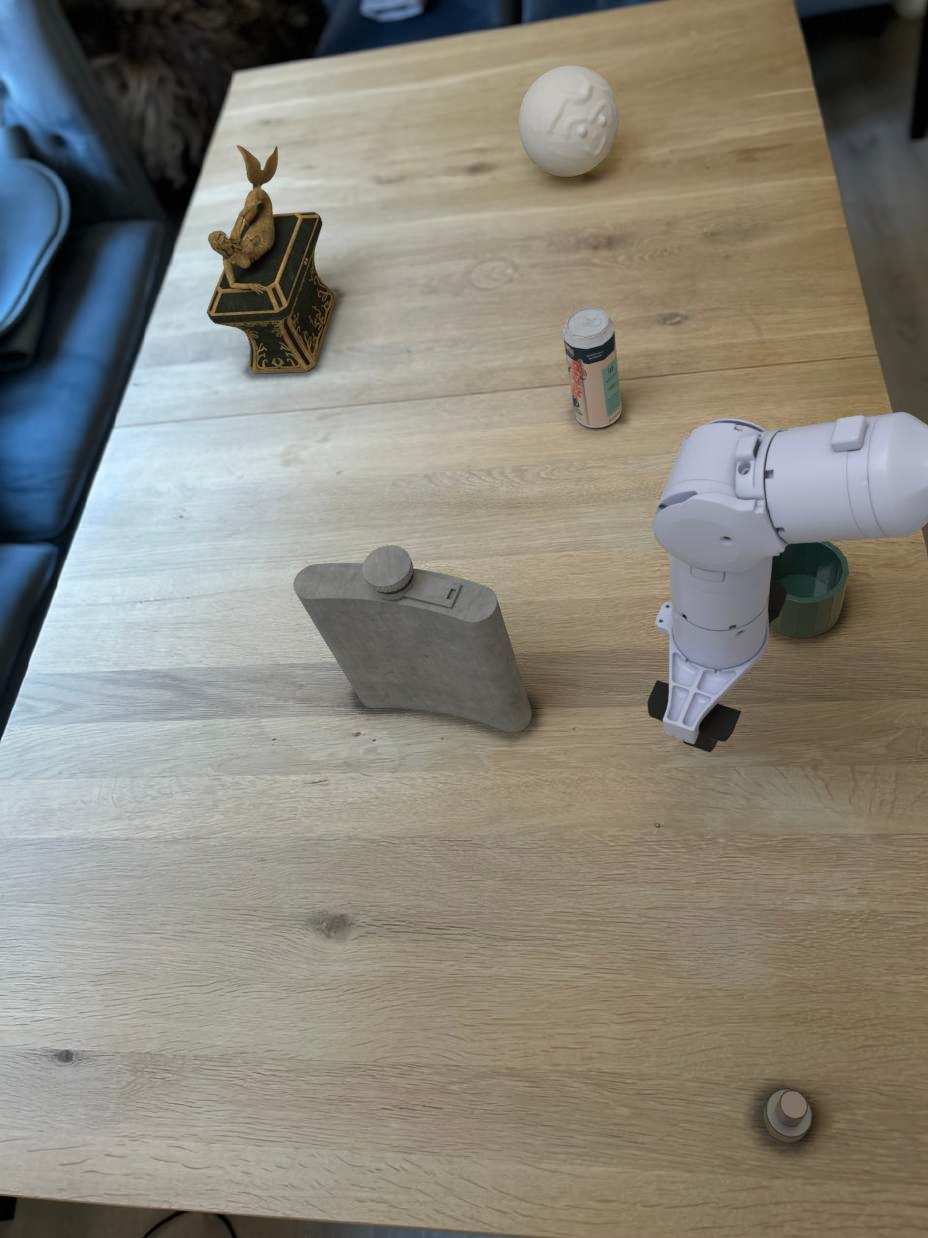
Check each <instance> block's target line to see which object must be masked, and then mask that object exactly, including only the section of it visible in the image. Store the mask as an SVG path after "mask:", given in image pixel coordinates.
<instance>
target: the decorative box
mask: <svg viewBox="0 0 928 1238" xmlns="http://www.w3.org/2000/svg"><path fill="white" fill-rule="evenodd" d="M236 148H237V150H238V151H239V152H240V154H241V156H242V158H243V161H244V165H245V171H246V177H247V180H248V182H249V183H250V184H252V189H251V190H250V191H249V192H248V193H247V195H246V198H245V202H244V207H243V208H242V209H241V211H239V212H238V216H237V218H236V220H235V222H234V225H233V228H232V229H231V231H230V234H229V236H228V235H227V233H225V232H224V231H222V230H216V231H215V230H214V231H212V232H210V233H209V234H208V237H207V241H208V243H209V245H210V247H211V249H212V250H213V251H214V252H216V253H217V254H219V255H220V256H222V266H223V269H222V272H221V273H220V276H219V278H218V281H217V283H216V286H215V288H214V291H213V294H212V296H211V299H210V300H209V304H208V307H207V309H206V314H207V316H208V318H209V319H210V320H211V322H212V323H214V324H215V325H219V326H225V327H231V328H235V329H238V330H241V331H242V332H243V333H244V334H245V336H246V337H247V340H248V342H249V344H248V345H249V365H248V366H249V370H251V371H252V372H253V373H254V374H271V373H272V374H274V373H275V374H277V373H302V372H308V371H310V370H311V369H313V368H314V367H316V366H317V365H316V364H317V362H318V359H319V355H320V352H321V350H322V347H323V343H324V340H325V337H326V334H327V331H328V327H329V325H330V321H331V318H332V315H333V312H334V310H335V307H336V303H337V300H338V293H336V292H335V291H334V290H333V289H332V288H331V287H329V286H328V285H327V284H326V283H324V281H323V280H322V279H321V277H320V275H319V273H318V271H317V269H316V263H315V254H316V253H315V252H316V247H317V243H318V240H319V237H320V234H321V232H322V228H323V220H322V217H321V215H320V214H318V213H317V212H315V211H303V212H302V211H300V212H299V211H298V212H287V213H286V212H285V213H274V211H273V202H272V199H271V198H270V195H269V194H268V192H267V191H266V190H265V189H263V188H262V186H263V185H264V184H265V185H266V184H268V183H269V182H271V180H272V179H273V178H274V176H275V175H276V173H277V169H278V164H279V148H278V146H277V145H275V147H274V150H273V152H272V153H271V154H270V155H269V156H268V158H267V159H266V160H265V163H264V167H263V169H262V165H261V162H260V160H259V159H258V158H257V157H256V156H255V155H254V154H252V153H251V152H250V151H249V150H247V149H246V148H244V147H243V146H242V145H239V144H237V145H236Z"/></svg>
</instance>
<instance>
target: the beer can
mask: <svg viewBox="0 0 928 1238" xmlns="http://www.w3.org/2000/svg"><path fill="white" fill-rule="evenodd" d="M566 319H567V320H566V322H565V324H564V326H563V329H562V337H563V344H564V351H565V358H566V364H567V365H566V366H567V371H568V378H569V385H570V391H571V397H572V402H573V403H572V404H573V410H574V412H573V413H574V417H575V419H576V421H577V422H578V423H580V424H581V425H582V426H584V427H587V428H590V429H591V428H592V429H600V428H604V427H607V426H610V425H612V424H613V423H615V422H616V421H617V420H618V419H619V418H620V416H621V414H622V412H623V407H622V406H623V405H622V397H621V387H620V386H621V385H620V375H619V364H618V353H617V345H616V344H617V343H616V342H617V341H616V331H615V323H614V321H613V320H612V319H611V317H610V316H609V315H608V314H607V313H606V312H605V311H604V310H603V309H602V308H598V307H592V306H591V307H590V306H587V307H584V308H581V309H577V310H575V311H574V312H572V314H570V315H569V316H568V317H567V318H566Z"/></svg>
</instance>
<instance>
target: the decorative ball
mask: <svg viewBox="0 0 928 1238" xmlns="http://www.w3.org/2000/svg"><path fill="white" fill-rule="evenodd" d="M619 117H620V116H619V106H618V103H617V99H616V96H615V93H614V91H613V89H612V87H611V85H610V84H609V83H608V81H607V80H606V79H605V78H604V76H602V75H600V74H599V73H597V72H596V71H594V70H592V69H590V68H588V67H584V66H580V65H571V64H569V65H561V66H558V67H554V68H552V69H550V70H548V71H546V72H545V73H543V74H542V75H540V76H539V77H538V78H537V79H536V80H535V81H534V82H533V83H532V85H530V87H529V88H528V89H527V92H526V93H525V95H524V97H523V100H522V102H521V105H520V108H519V112H518V123H517V124H518V134H519V139H520V142H521V145H522V148H523V150H524V152H525V154H526V155H527V156H528V158H529V159H530V161H531V162H532V163H533V164H534V165H535V166H536V167H537V168H538V169H540V170H542V171H544V172H545V173H547V174H550V175H553V176H557V177H562V178H571V177H576V176H580V175H583V174H585V173H588V172H590V171H591V170H593V169H595V168H596V167H598V166H599V164H600V163H602V162H603V160H604V159H605V158H606V157H607V155H608V154H609V152H610V151H611V149H612V147H613V145H614V143H615V141H616V137H617V134H618V129H619Z"/></svg>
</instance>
